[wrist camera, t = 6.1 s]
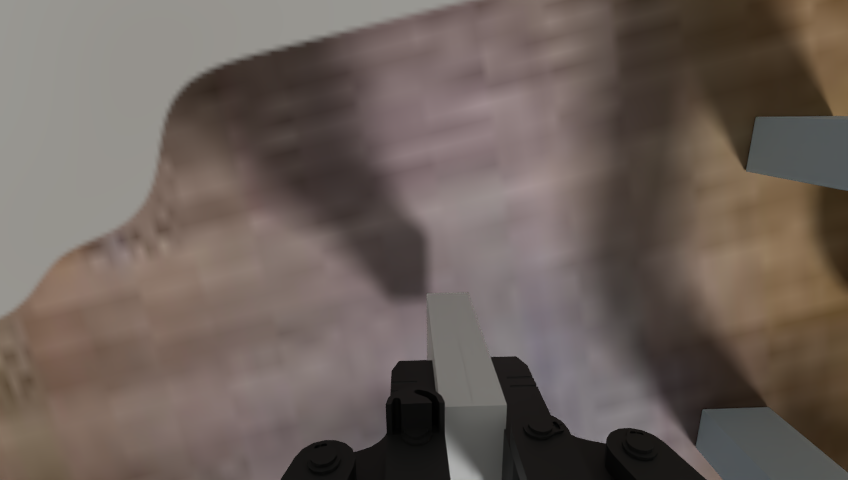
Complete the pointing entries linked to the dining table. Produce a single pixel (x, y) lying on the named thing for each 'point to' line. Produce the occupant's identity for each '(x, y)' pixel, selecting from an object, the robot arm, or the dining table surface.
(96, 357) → the dining table surface
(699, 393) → the dining table surface
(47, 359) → the dining table surface
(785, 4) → the dining table surface
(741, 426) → the bridge
